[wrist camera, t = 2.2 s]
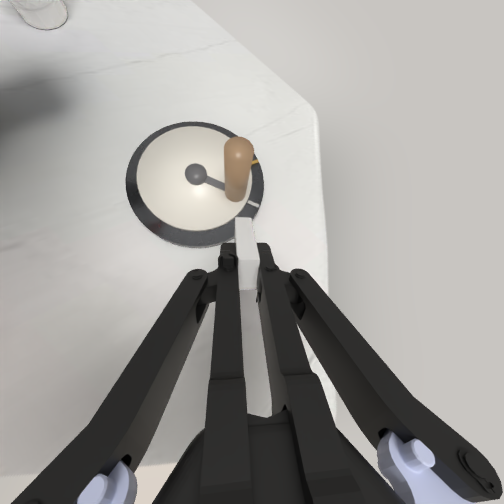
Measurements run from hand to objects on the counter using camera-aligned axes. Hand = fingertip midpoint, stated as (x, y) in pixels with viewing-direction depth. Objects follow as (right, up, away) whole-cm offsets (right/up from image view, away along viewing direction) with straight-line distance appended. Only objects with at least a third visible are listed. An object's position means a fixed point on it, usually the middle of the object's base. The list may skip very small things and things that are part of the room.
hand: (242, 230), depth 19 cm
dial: (-7, +9, +10) cm, 15 cm away
